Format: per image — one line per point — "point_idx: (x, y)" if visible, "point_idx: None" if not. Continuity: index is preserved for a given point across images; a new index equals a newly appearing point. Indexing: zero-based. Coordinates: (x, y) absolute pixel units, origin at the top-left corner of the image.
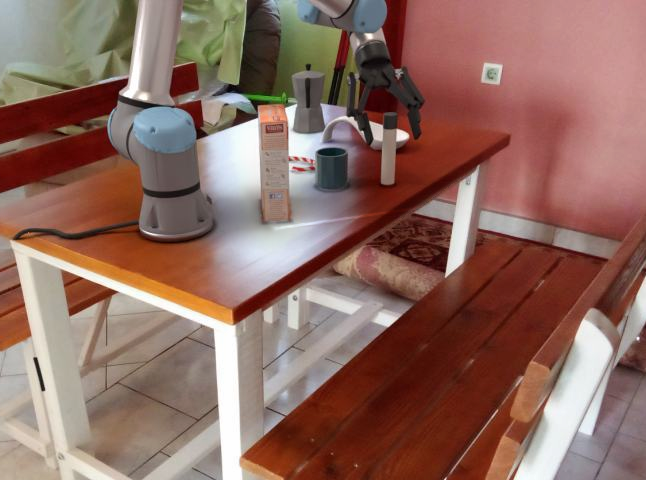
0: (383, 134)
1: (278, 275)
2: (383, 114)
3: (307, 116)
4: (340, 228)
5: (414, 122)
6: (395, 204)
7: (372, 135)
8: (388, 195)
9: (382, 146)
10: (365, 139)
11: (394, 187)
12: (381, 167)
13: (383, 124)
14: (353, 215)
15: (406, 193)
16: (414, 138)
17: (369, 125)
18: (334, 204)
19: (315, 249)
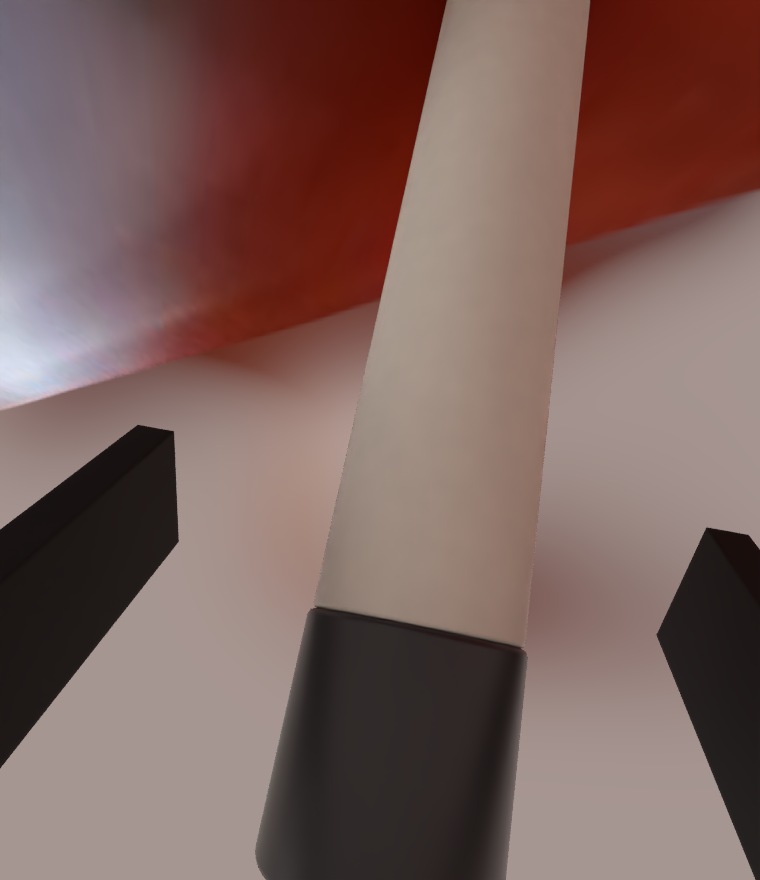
0: (332, 524)
1: (19, 397)
2: (256, 858)
3: None
4: (124, 335)
5: (723, 756)
6: None
7: (153, 567)
8: None
9: (369, 353)
10: (89, 464)
11: None
12: (421, 121)
13: (295, 672)
14: (168, 293)
15: None
16: (703, 547)
17: (75, 658)
18: (47, 166)
19: (71, 373)
